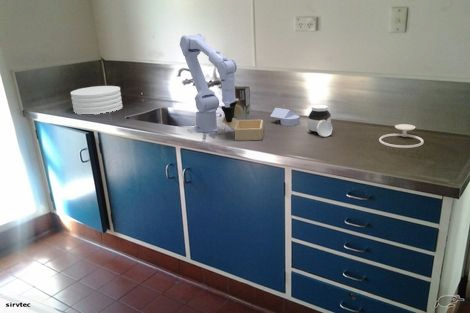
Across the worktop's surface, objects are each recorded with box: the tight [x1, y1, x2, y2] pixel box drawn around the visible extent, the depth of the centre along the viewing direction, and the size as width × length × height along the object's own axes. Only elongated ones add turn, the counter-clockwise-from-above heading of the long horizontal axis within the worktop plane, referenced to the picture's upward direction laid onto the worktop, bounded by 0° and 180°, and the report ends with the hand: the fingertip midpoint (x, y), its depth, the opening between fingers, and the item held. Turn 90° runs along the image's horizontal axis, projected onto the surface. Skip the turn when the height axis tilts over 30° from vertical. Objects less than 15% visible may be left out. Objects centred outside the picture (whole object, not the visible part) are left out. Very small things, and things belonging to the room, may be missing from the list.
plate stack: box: [70, 85, 123, 115], centre depth 258 cm, size 28×28×12 cm
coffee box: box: [234, 85, 252, 121], centre depth 219 cm, size 9×6×16 cm
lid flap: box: [221, 116, 238, 131], centre depth 192 cm, size 6×14×1 cm
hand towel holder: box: [378, 123, 425, 149], centre depth 176 cm, size 17×4×21 cm
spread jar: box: [307, 104, 333, 138], centre depth 189 cm, size 12×11×12 cm
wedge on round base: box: [270, 107, 300, 127], centre depth 209 cm, size 9×7×13 cm
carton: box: [234, 119, 264, 141], centre depth 192 cm, size 11×16×5 cm
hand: (230, 120), depth 192 cm, fingers open, 7 cm apart
